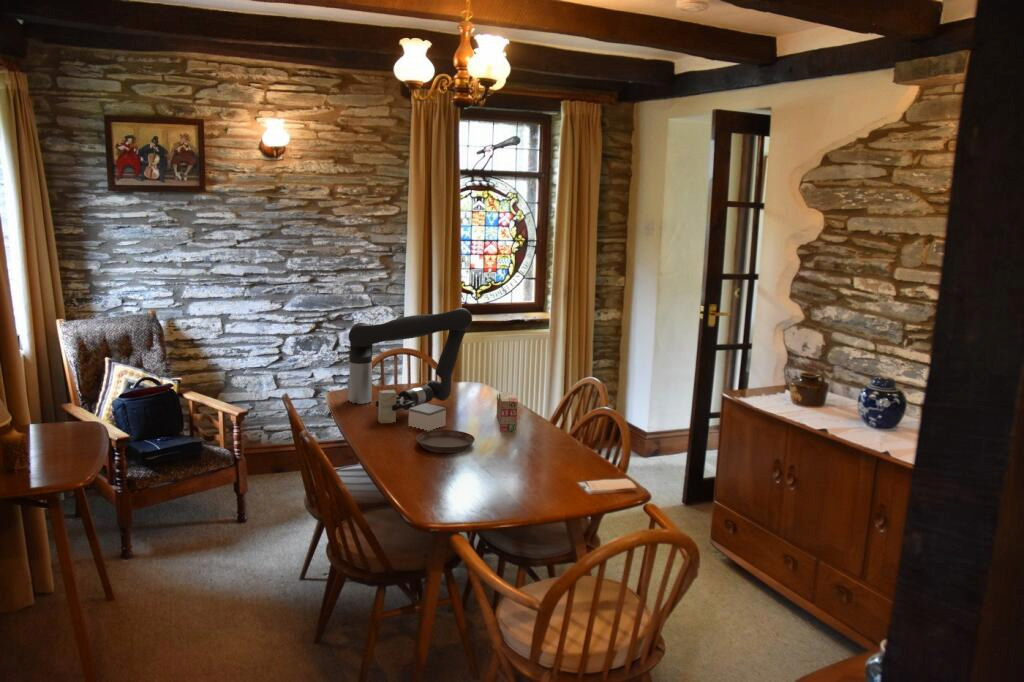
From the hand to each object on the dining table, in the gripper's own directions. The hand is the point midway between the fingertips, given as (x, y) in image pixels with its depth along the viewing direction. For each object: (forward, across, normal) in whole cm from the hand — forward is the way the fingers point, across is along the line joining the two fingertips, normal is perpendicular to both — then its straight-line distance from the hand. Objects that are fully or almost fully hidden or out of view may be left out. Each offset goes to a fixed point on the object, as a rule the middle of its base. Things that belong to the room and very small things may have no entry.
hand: (384, 406), depth 298 cm
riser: (-8, +15, +6) cm, 18 cm away
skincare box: (-2, 0, +7) cm, 7 cm away
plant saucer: (+6, +35, +7) cm, 36 cm away
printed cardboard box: (-31, +36, +7) cm, 48 cm away
